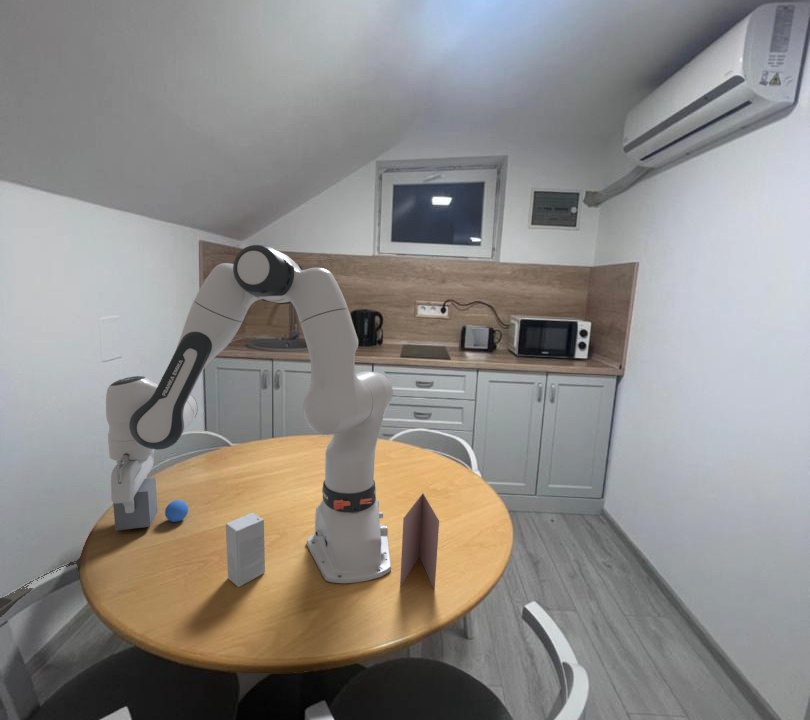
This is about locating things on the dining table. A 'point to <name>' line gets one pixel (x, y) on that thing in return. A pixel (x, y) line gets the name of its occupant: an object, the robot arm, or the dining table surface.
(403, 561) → the greeting card
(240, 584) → the skincare box
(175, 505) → the ball
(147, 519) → the balanced grey cube
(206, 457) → the dining table surface
